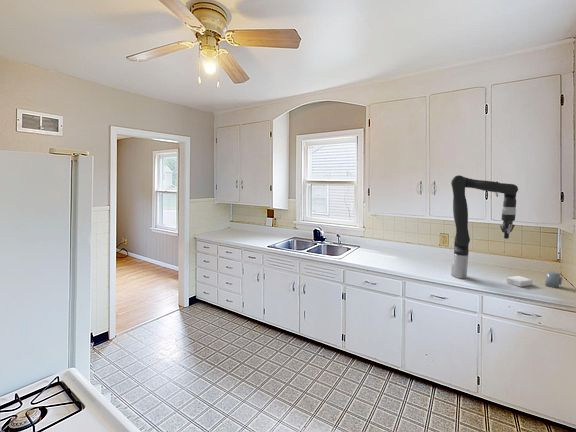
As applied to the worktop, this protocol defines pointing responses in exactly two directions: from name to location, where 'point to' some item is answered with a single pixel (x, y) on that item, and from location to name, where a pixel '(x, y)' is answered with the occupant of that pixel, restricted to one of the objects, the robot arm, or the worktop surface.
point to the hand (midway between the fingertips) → (506, 238)
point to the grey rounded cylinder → (553, 279)
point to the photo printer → (519, 281)
